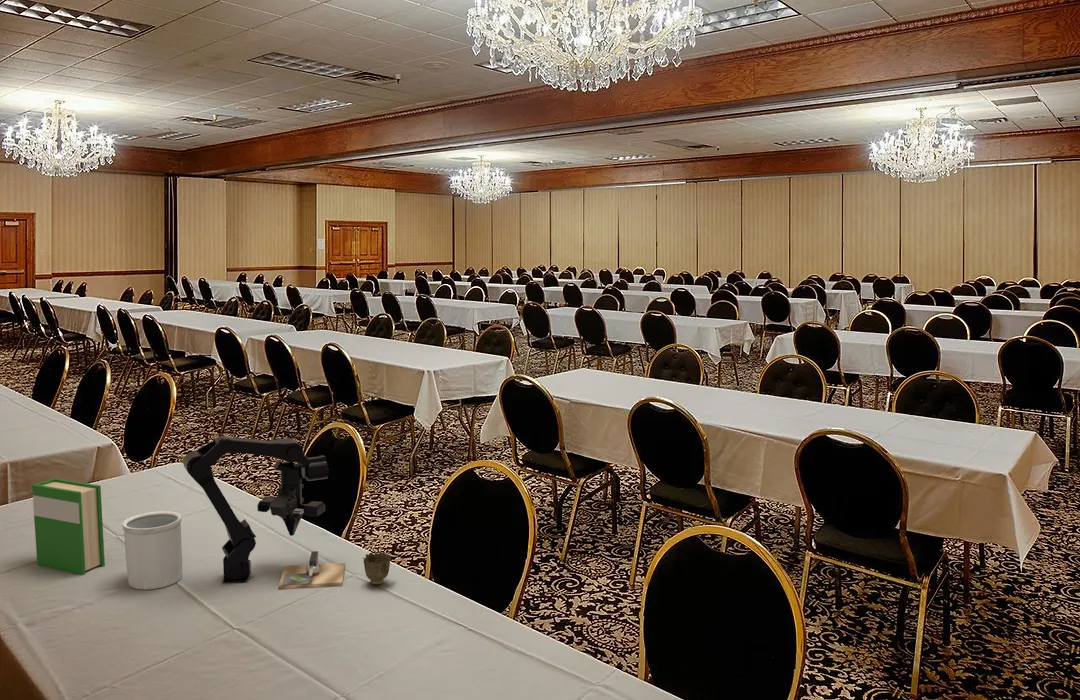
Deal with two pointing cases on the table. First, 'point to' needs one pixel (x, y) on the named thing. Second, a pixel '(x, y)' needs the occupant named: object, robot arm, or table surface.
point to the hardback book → (68, 525)
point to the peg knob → (313, 564)
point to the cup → (377, 567)
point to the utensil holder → (153, 549)
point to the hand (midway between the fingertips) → (292, 535)
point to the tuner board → (300, 579)
